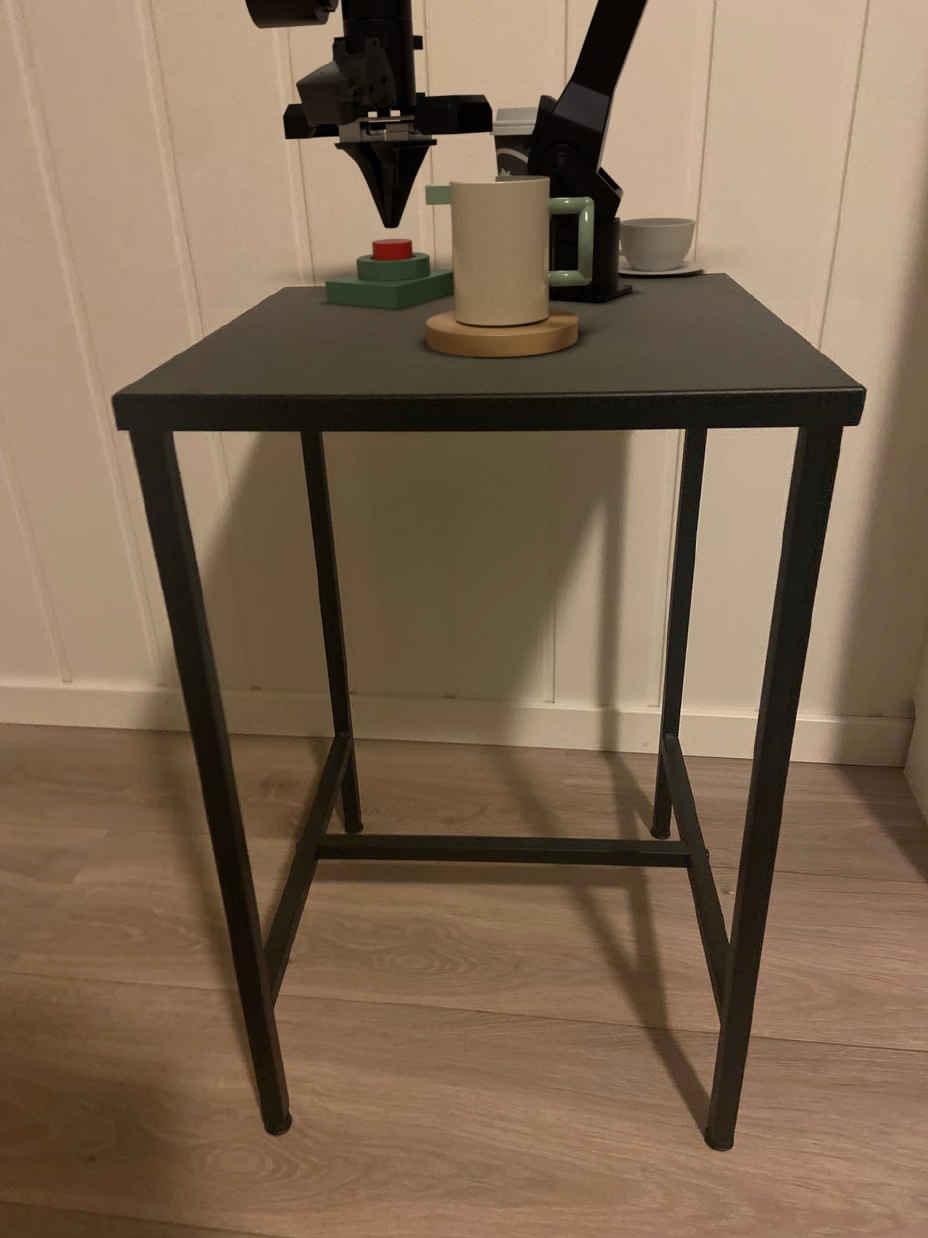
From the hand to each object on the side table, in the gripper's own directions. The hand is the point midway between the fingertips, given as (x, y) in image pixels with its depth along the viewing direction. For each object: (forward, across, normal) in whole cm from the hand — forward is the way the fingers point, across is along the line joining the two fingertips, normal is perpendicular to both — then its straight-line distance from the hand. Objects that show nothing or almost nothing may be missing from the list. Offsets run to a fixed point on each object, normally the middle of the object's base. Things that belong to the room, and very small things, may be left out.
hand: (391, 227), depth 84 cm
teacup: (+6, +16, +22) cm, 28 cm away
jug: (+4, +19, -12) cm, 23 cm away
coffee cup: (+6, +8, +13) cm, 16 cm away
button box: (+6, 0, 0) cm, 6 cm away
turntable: (+6, +19, -12) cm, 23 cm away
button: (+3, 0, 0) cm, 3 cm away
